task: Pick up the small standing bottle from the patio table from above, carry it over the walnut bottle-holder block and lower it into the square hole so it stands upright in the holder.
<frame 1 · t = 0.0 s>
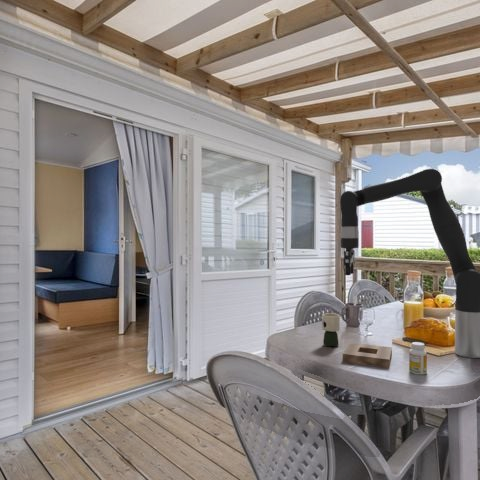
hand: (349, 274, 166), 29 cm above the table, tool pointing down, fingers open, 8 cm apart
supplement bottle: (417, 372, 129), on the table
character mug: (330, 346, 160), on the table
walnut bottle holder: (367, 358, 144), on the table
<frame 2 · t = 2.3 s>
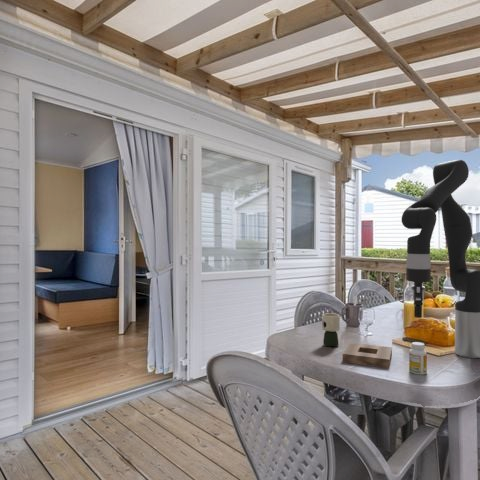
hand: (417, 315, 129), 19 cm above the table, tool pointing down, fingers open, 8 cm apart
nothing on the table moved.
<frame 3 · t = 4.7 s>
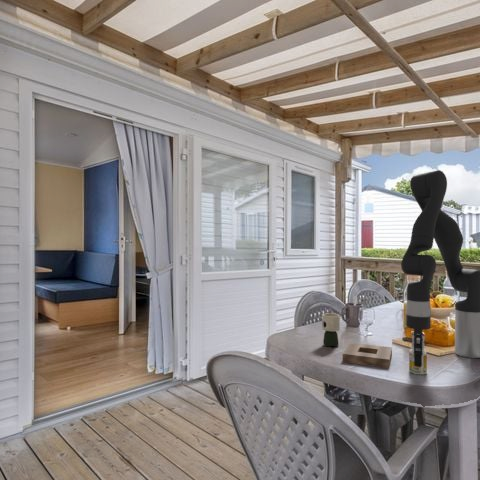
hand: (417, 363, 129), 3 cm above the table, tool pointing down, fingers closed on supplement bottle, 5 cm apart
supplement bottle: (417, 372, 129), on the table, touching gripper
everything else where it was.
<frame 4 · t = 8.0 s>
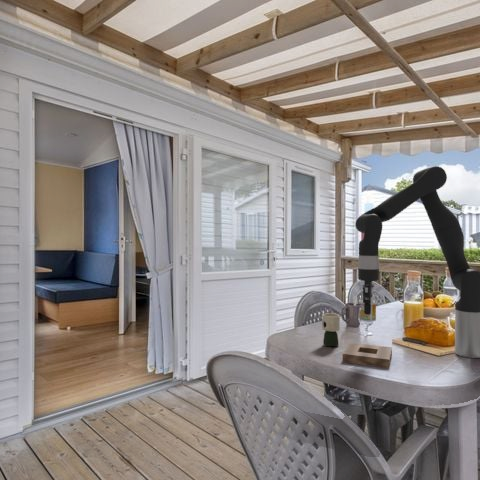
hand: (368, 312, 143), 17 cm above the table, tool pointing down, fingers closed on supplement bottle, 5 cm apart
supplement bottle: (368, 320, 143), point 14 cm above the table, touching gripper
everything else where it was.
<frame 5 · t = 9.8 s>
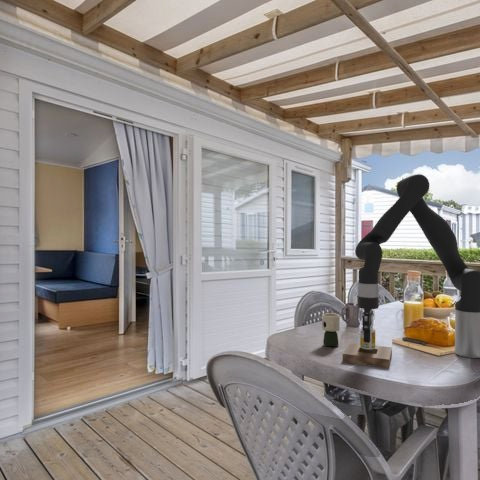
hand: (367, 339, 144), 7 cm above the table, tool pointing down, fingers closed on supplement bottle, 5 cm apart
supplement bottle: (367, 348, 144), point 4 cm above the table, touching gripper
everything else where it was.
when the fingers open (5 cm above the table, at t = 11.2 s): supplement bottle drops 2 cm, resting in walnut bottle holder.
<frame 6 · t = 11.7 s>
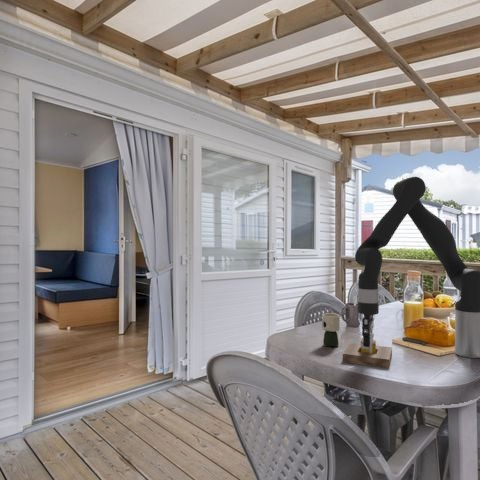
hand: (367, 343, 144), 6 cm above the table, tool pointing down, fingers open, 8 cm apart
supplement bottle: (368, 359, 144), resting in walnut bottle holder
everything else where it was.
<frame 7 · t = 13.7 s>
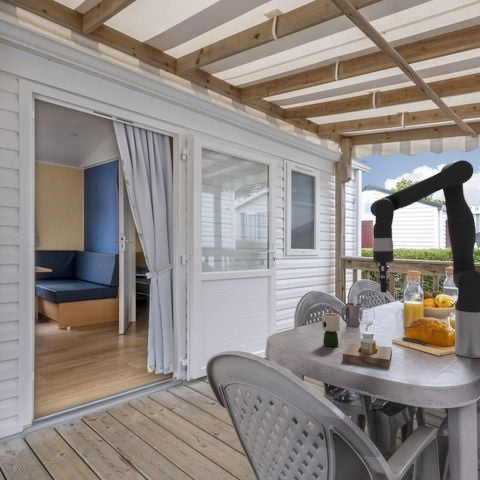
hand: (384, 290, 150), 24 cm above the table, tool pointing down, fingers open, 8 cm apart
nothing on the table moved.
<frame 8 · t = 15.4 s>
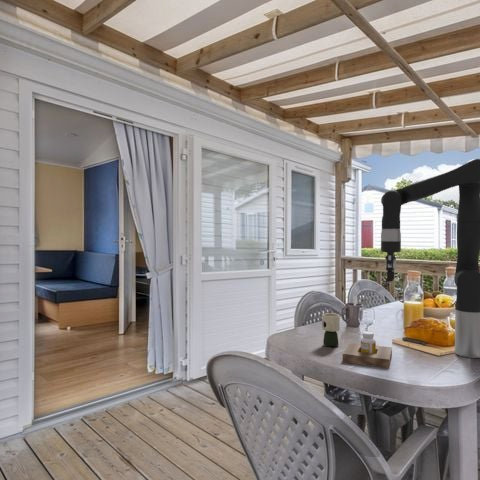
hand: (390, 280, 155), 28 cm above the table, tool pointing down, fingers open, 8 cm apart
nothing on the table moved.
at the end: supplement bottle 0.1 cm off-centre on the walnut bottle holder, point 0.0 cm above the walnut bottle holder's base; supplement bottle tilted 0°; the gripper is holding nothing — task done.
